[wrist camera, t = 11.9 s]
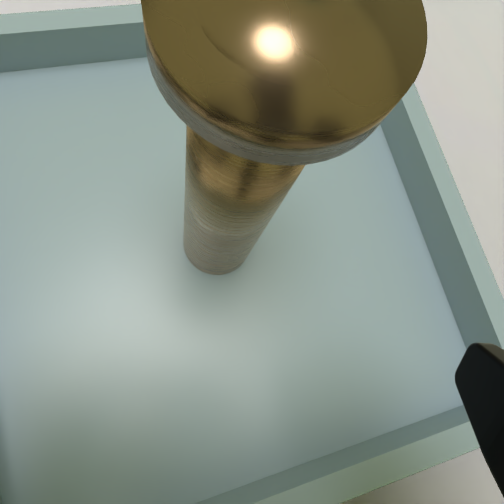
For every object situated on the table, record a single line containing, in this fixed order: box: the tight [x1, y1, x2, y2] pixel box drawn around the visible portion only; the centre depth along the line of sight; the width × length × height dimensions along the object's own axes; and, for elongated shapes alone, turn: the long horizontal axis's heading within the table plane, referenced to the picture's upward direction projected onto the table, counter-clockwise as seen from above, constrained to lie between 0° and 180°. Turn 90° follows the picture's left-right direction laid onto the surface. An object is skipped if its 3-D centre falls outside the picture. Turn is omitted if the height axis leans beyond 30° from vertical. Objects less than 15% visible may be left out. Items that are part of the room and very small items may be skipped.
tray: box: [0, 4, 504, 504], centre depth 18 cm, size 22×22×3 cm
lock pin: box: [141, 0, 427, 275], centre depth 12 cm, size 4×4×13 cm
